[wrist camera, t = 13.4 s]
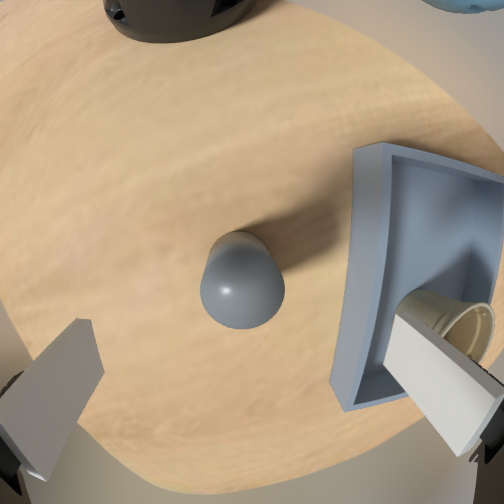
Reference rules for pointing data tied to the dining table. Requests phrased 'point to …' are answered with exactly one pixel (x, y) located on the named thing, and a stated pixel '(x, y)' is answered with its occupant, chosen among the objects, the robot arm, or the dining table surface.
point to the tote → (410, 254)
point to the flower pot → (453, 320)
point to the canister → (241, 282)
